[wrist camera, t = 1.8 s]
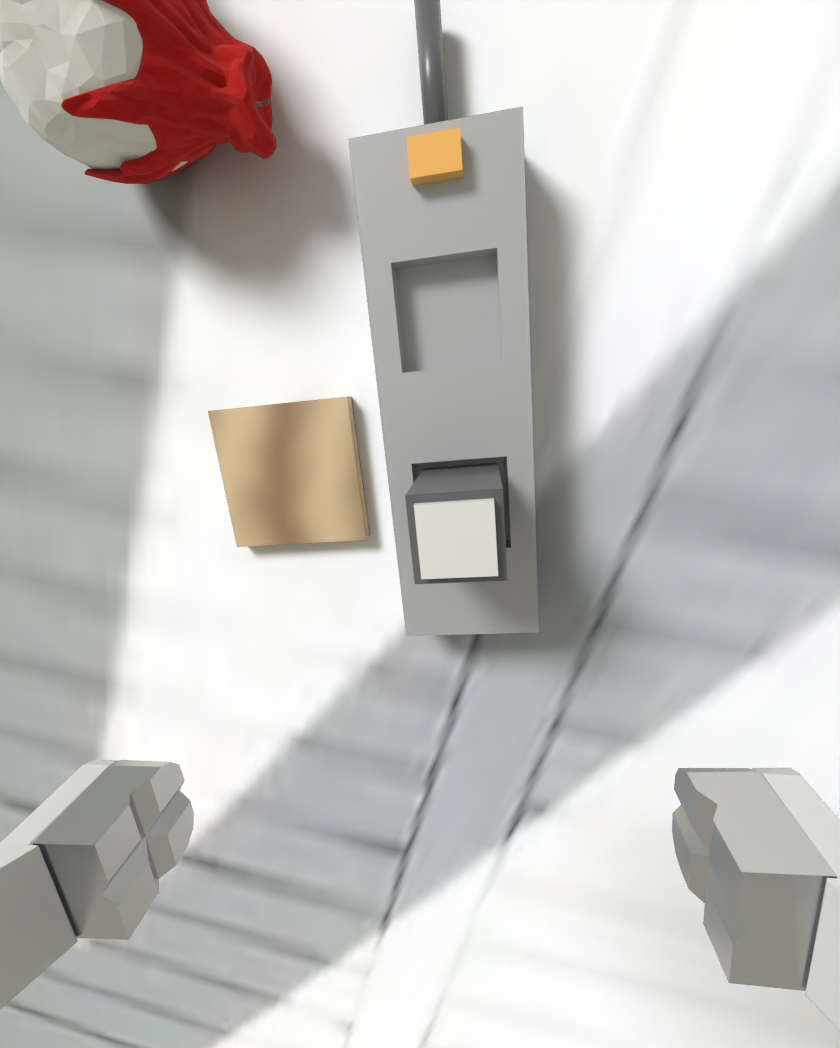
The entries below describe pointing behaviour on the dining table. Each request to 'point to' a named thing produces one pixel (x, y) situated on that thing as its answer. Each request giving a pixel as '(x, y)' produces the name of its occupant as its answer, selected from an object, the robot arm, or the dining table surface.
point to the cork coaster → (291, 472)
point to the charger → (457, 525)
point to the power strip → (452, 329)
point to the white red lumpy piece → (134, 83)
